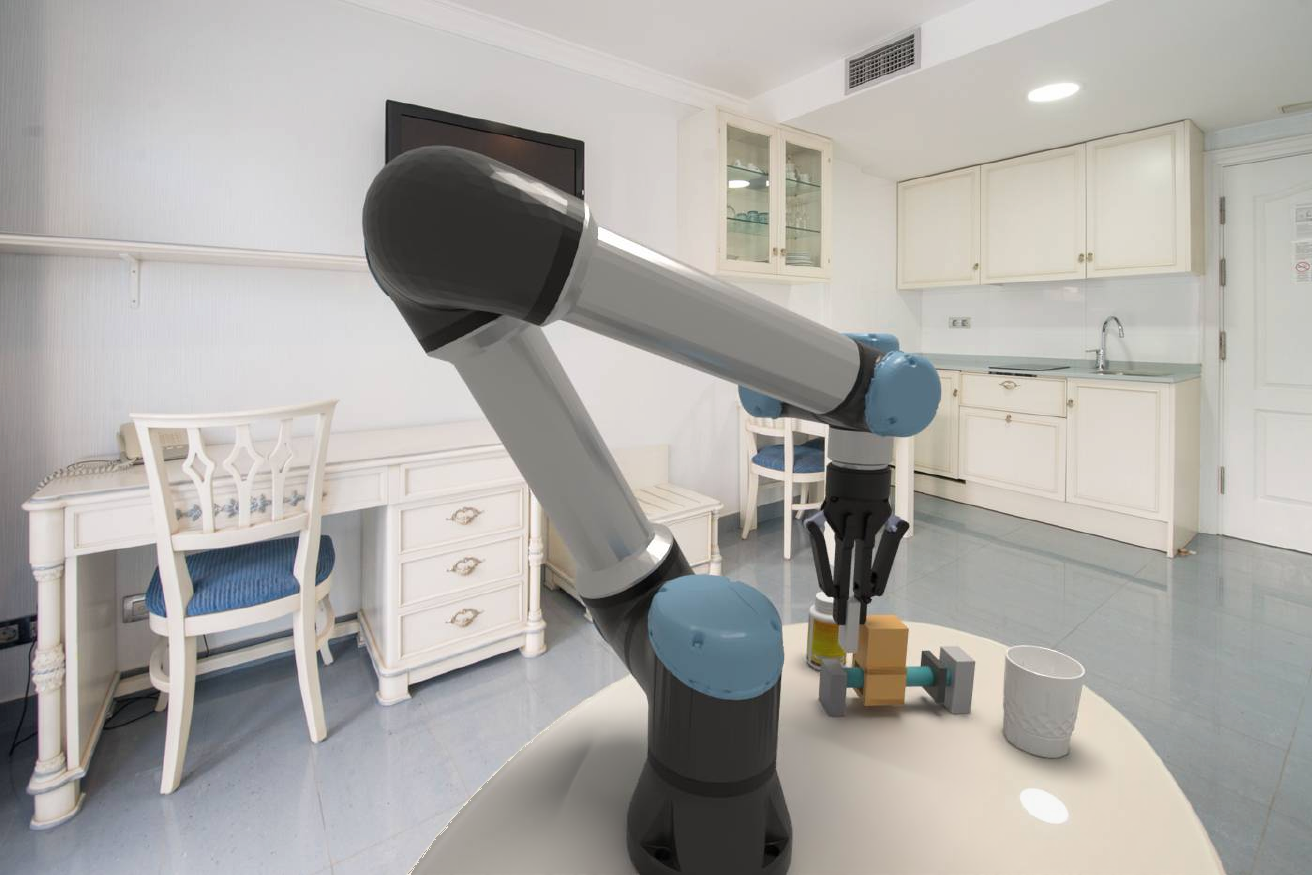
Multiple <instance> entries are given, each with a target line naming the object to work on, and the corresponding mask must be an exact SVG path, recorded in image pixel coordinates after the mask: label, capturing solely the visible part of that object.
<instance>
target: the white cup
mask: <svg viewBox="0 0 1312 875" xmlns="http://www.w3.org/2000/svg"><path fill="white" fill-rule="evenodd" d="M1004 654H1005V656H1004V671H1003V672H1004V675H1003V694H1002V695H1003V699H1002V700H1003V701H1002V707H1003V721H1002V733H1003V735H1004V737H1005V738H1006V740H1007V741H1008V742H1010V744H1012V745H1014V746H1015V747H1016V748H1018V749H1020V750H1022V751H1024V752H1026V753H1028V754H1031V755H1035V756H1037V757H1043V758H1048V759H1049V758H1052V759H1053V758H1056V759H1057V758H1058V759H1059V758H1062V757H1064V756H1066V755H1068V753H1069V749H1070V744H1071V743H1070V742H1071V739H1072V738H1071V737H1072V736H1073V735H1072V734H1073V732H1074V730H1075V724H1076V721H1077V718H1078V712H1079V706H1080V702H1081V701H1080V700H1081V696H1082V690H1083V685H1084V680H1085V679H1084V678H1085V676H1086V669H1085V667H1084V666H1083V665H1082V664H1081V663H1080V662H1079V661H1078V660H1076V659H1074V658H1072V656H1069V655H1067V654H1065V653H1062V652H1060V651H1057V650H1054V649H1050V648H1046V647H1042V646H1038V645H1026V644H1023V645H1022V644H1021V645H1013V646H1011V647H1008V648H1007V649H1006V650H1005V653H1004Z"/></svg>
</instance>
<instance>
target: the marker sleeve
mask: <svg viewBox="0 0 1312 875" xmlns="http://www.w3.org/2000/svg"><path fill="white" fill-rule="evenodd" d="M909 631H910V628H909V627H908V626H907V625H906V624H905V623H904V622H903V621H901V619H899V618H898V617H897V615H895V614H867V616H866V622H865V624H864V625H859V634H858V650H857V653H852V655H851V656H852V657H851V667H861V668H862V669H863V671H864V686H863V688H852V689H853V691H854V693H855V694H856V695H857V697H858V698H859V700H860V701H861V702H862V704H863V706H866V707H867V706H904V705H905V697H906V688H907V687H906V676H907V668H906V667H907V655H908V654H907V653H908V646H909V645H908V644H909Z"/></svg>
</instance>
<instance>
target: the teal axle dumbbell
mask: <svg viewBox="0 0 1312 875" xmlns="http://www.w3.org/2000/svg"><path fill="white" fill-rule="evenodd" d="M939 647H940V648H939V656H938V657H939V658H938V657H937V656H936V655H935V654H934V653H932V652H931V651H930V650H921V658H920V666H919V665H918V666H915V665H914V666H906V668H907V676H906V688H907V687H908V688H909V687H910V688H911V687H913V688H914V687H916V688H917V687H921V688H922V689H923V690H924V691H925V692H926V693H927V694H928V696H930V698H932V700H933V701H934V702H935V703H936V704H942V705H943V706H944V707H945V708H946V709H947V710H948V712H949V713H951V715H956V714H957V715H958V714H960V715H962V714H963V715H966V714H971V710H972V701H973V700H972V699H973V690H974V678H975V671H976V670H975V669H976V661H975V660H974V659H973V658H972V657H971V656H970V655H969V654H968V653H967V652H965V650H963V649H962V648H961V647H960V646H959V645H955V646H954V645H952V646H949V645H947V646H945V645H944V646H943V645H942V646H939ZM819 672H820V673H819V686H818V701H819V702H820V704H821V706H822V707H823V708H824V710H825V712H826V713H827V715H828V718H829V717H846V715H845V714H846V703H847V702H846V701H847V689H853V688H863V686H864V671H863V669H862V668H861V667H852V666H851V667H844V668H842V666H841V665H840V663H839V662H838V661H837V659H821V669H820V670H819Z"/></svg>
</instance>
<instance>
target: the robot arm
mask: <svg viewBox="0 0 1312 875" xmlns="http://www.w3.org/2000/svg"><path fill="white" fill-rule="evenodd" d="M591 211H592V210H591V208H590V206H589V204H588V202H587V201H585V200H583V199H582V198H579V197H577V196H575V195H572V194H570V193H568V192H566V191H563V190H561V189H559V188H557V187H556V186H553V185H551V184H548V183H547V182H545V181H542V180H540V179H538V178H536V177H533V176H532V175H529V174H527V173H525V172H523V171H521V170H519V169H517V168H514V167H513V166H511V165H507V164H505V163H503V162H502V161H498V160H497V159H493V158H492V157H489V156H486V155H485V154H481V153H480V152H479V153H478V152H475V151H473V150H468V149H466V148H460V147H456V146H450V145H430V146H429V145H428V146H420V147H418V148H415V149H410V150H407V151H405V152H403V153H402V154H401V153H400V154H399V155H397V156H396V157H395V158H393V159H392V160H390V161H388V162H387V164H385V165H383V167H382V169H381V170H380V171H379V172H377V174H376V176H375V177H374V179H373V180H372V183H371V184H370V186H369V187H368V189H367V192H366V194H365V199H364V202H363V206H362V213H361V214H362V216H361V218H362V220H361V227H362V236H363V243H364V245H363V246H364V254H365V258H366V262H367V266H368V269H369V270H370V271H369V272H370V273H371V276H372V277H373V279H374V281H375V282H376V284H377V286H378V287H379V288H380V290H382V292H383V293H384V294H385V295H386V296H387V297H389V298H390V300H391V301H392V302H393V304H394V305H395V307H396V309H397V310H398V311H399V313H400V315H401V316H402V318H403V319H404V321H405V323H406V325H407V326H408V327H409V329H410V331H411V332H412V334H413V335H414V337H415V339H416V340H417V342H418V343H419V345H420V347H421V348H422V349H423V351H424V352H425V354H426V355H427V357H430V358H432V359H433V358H434V359H437V360H441V361H443V362H448V363H449V364H451V365H452V366H453V367H454V368H455V370H456V371H457V372H458V374H459V376H460V377H461V379H462V381H463V383H464V384H465V386H466V387H467V389H468V391H469V392H470V393H471V395H472V398H474V400H475V402H476V403H477V405H478V407H479V409H480V410H481V411H482V413H483V415H484V416H485V418H486V419H487V421H488V422H489V424H490V427H491V428H492V430H494V432H495V433H496V435H497V437H498V438H499V441H501V442H500V443H501V444H502V445H503V447H504V448H505V450H506V452H507V453H508V455H509V457H510V459H511V460H512V461H513V463H514V465H515V466H516V468H517V469H518V471H519V473H520V474H521V476H522V477H523V480H524V481H525V482H526V484H527V485H528V487H529V489H530V490H531V492H532V493H533V496H534V497H535V498H536V500H537V502H538V504H539V505H540V506H541V508H542V510H543V511H544V514H545V515H546V516H547V518H548V519H549V521H550V523H551V524H552V526H553V527H554V529H555V531H556V532H557V534H558V536H559V537H560V539H561V541H562V542H563V543H564V545H565V547H566V549H567V550H568V551H569V553H570V555H571V557H572V558H573V560H574V561H575V563H576V564H577V567H576V569H575V573H574V576H573V587H574V590H575V591H576V593H577V595H578V596H579V598H580V599H581V601H582V603H583V604H584V606H585V607H586V609H587V611H588V612H589V614H590V616H591V619H592V620H591V621H592V624H593V625H594V627H595V629H596V631H597V632H598V634H599V635H600V637H601V638H602V639H603V641H605V642H606V643H607V644H608V645H609V646H610V647H611V648H612V650H613V651H614V652H615V654H616V656H617V657H618V658H619V659H620V660H621V662H622V663H623V665H624V666H625V667H626V668H627V670H628V671H629V673H630V674H631V676H632V677H633V679H634V680H635V681H636V683H637V684H638V686H640V688H641V689H642V691H643V692H644V694H645V697H646V700H647V707H648V708H647V709H648V710H647V751H646V753H647V754H646V758H645V762H644V765H643V768H642V770H641V773H640V775H639V778H638V781H637V784H636V786H635V788H634V791H633V794H632V796H631V799H630V802H629V805H628V808H627V809H628V810H627V813H626V814H627V815H626V847H627V852H628V855H629V858H630V860H631V862H632V864H633V866H634V867H635V870H636V871H637V872H638V873H639V875H787V873H788V870H789V869H790V865H791V861H792V852H793V851H792V850H793V823H792V819H791V816H790V811H789V808H788V805H787V802H786V797H785V794H784V791H783V788H782V783H781V780H780V777H779V774H778V771H777V755H778V741H779V722H780V705H781V704H780V703H781V693H782V691H781V690H782V676H783V675H782V674H783V667H784V664H785V646H784V637H783V634H784V633H783V624H782V618H781V616H780V613H779V612H778V610H777V608H776V607H775V605H774V604H773V602H772V601H771V600H770V599H769V598H768V596H766V595H765V594H764V593H762V592H761V591H760V590H758V589H757V588H755V587H753V586H751V585H749V584H748V583H745V582H742V581H740V580H737V581H731V580H730V579H729V577H727V576H721V575H715V574H705V573H704V574H703V573H702V574H699V573H698V574H696V572H694V570H693V568H692V567H691V565H690V563H689V561H688V559H687V557H686V556H685V554H684V552H683V551H682V549H681V547H680V545H679V544H678V542H677V539H676V538H675V537H674V534H673V532H672V531H671V529H670V528H669V527H668V526H667V525H666V524H665V525H664V524H662V523H658V522H653V521H649V520H648V517H647V515H646V513H645V512H644V510H643V508H642V507H641V505H640V503H639V501H638V500H637V497H636V496H635V494H634V491H633V490H632V488H631V487H630V485H629V483H628V482H627V479H626V478H625V476H624V474H623V473H622V471H621V470H620V467H619V466H618V463H617V461H616V460H615V458H614V457H613V454H612V453H611V451H610V449H609V448H608V445H607V444H606V442H605V441H604V438H603V437H602V435H601V433H600V431H599V430H598V428H597V426H596V424H595V422H594V420H593V419H592V417H591V415H590V413H589V411H587V408H586V407H585V405H584V403H583V401H582V399H581V397H580V396H579V394H578V392H577V390H576V389H575V386H574V385H573V383H572V382H571V380H570V378H569V376H568V374H567V373H566V371H565V369H564V367H563V365H562V363H561V361H560V359H559V358H558V356H557V354H556V353H555V351H554V348H553V347H552V346H551V344H550V342H549V339H547V336H546V334H545V333H544V331H543V329H542V328H543V327H546V326H548V325H550V324H553V323H555V322H558V321H563V322H566V323H568V324H571V325H574V326H577V327H578V328H582V329H585V330H587V331H590V332H592V333H595V334H598V335H601V336H604V337H607V338H609V339H612V340H614V341H617V342H619V343H622V344H626V345H629V346H630V347H634V348H636V349H640V350H641V351H644V352H647V353H650V354H653V355H655V356H658V357H661V358H664V359H666V360H669V361H671V362H674V363H676V364H680V365H682V366H686V367H687V368H691V369H694V370H697V371H699V372H702V373H704V374H707V375H710V376H713V377H715V378H718V379H720V380H724V381H726V382H729V383H732V384H734V385H737V392H738V396H739V399H740V400H739V401H740V402H741V406H742V408H743V410H745V411H746V413H747V414H748V415H750V416H752V417H753V418H763V419H772V420H778V419H779V418H784V419H785V418H789V419H790V418H791V419H798V420H803V421H809V422H812V423H818V424H824V425H828V435H827V436H828V437H827V458H828V459H829V462H828V464H827V465H826V471H825V487H824V488H825V489H824V495H825V496H824V500H823V502H822V503H821V505H820V511H818V512H816V514H813V516H810V517H809V516H805V517H802V520H801V524H802V526H803V528H804V529H805V530H806V533H807V535H808V537H809V541H810V547H811V552H812V557H813V561H814V562H813V563H814V566H815V568H814V569H815V573H816V578H817V582H818V587H819V589H820V591H821V592H824V593H825V595H826V596H827V597H833V598H834V601H833V619H834V621H835V622H836V624H837V625H839V633H838V644H839V645H840V646H841V648H842V649H843V650H844V652H845V653H847V654H853V653H857V650H858V634H859V625H864V624H865V622H866V616H867V615H868V605H869V604H871V602H872V601H873V599H872V598H873V597H875V596H876V597H882V596H883V595H884V593H885V590H886V587H887V584H888V582H889V579H890V578H889V577H890V575H891V571H892V568H893V566H894V562H895V558H896V556H897V553H898V549H899V545H900V543H901V540H902V538H903V537H904V536H905V535H906V533H907V532H908V531H909V529H910V527H911V525H910V523H909V522H908V521H906V520H905V519H903V518H901V517H900V516H898V515H895V514H894V513H893V508H892V505H891V504H890V496H891V488H892V486H891V485H892V475H893V470H892V469H891V467H890V466H889V465H890V464H892V463H893V460H894V457H893V456H894V448H895V447H894V446H895V445H894V444H895V437H896V438H909V437H913V436H916V435H918V434H920V433H921V432H923V431H925V430H926V429H927V427H929V426H930V424H931V423H932V422H933V420H934V419H935V417H936V416H937V411H938V409H939V404H940V403H941V400H942V382H941V379H940V375H939V372H938V370H937V369H936V367H935V366H934V365H933V363H932V362H931V361H930V360H928V359H927V358H926V357H924V356H922V355H920V354H915V353H908V352H904V351H902V350H900V341H899V339H898V337H896V336H895V335H894V334H891V333H865V332H864V333H862V332H861V333H860V332H858V333H857V332H852V333H851V332H850V333H849V332H848V333H840V332H839V331H836V330H834V329H832V328H829V327H827V326H825V325H823V324H821V323H818V322H817V321H814V320H811V319H809V318H808V317H805V316H803V315H801V314H798V313H796V312H794V311H792V310H789V309H787V308H786V307H784V306H781V305H778V304H777V303H774V302H772V301H770V300H767V299H765V298H763V297H762V296H759V295H756V294H755V293H753V292H750V291H748V290H746V289H743V288H741V287H740V286H737V285H735V284H732V283H731V282H728V281H726V280H724V279H721V278H720V277H718V276H715V275H713V274H710V273H708V272H706V271H704V270H701V269H699V268H698V267H696V266H693V265H690V264H689V263H686V262H684V261H682V260H680V259H677V258H675V257H673V256H671V255H669V254H666V253H664V252H662V251H660V250H658V249H655V248H654V247H651V246H649V245H646V244H644V243H642V242H640V241H638V240H635V239H633V238H631V237H628V236H627V235H624V234H622V233H620V232H619V231H616V230H614V229H611V228H609V227H608V226H604V225H603V224H601V223H598V222H597V221H596V220H595V218H594V216H593V214H592V212H591ZM825 523H827V525H829V527H830V528H831V530H832V532H833V534H834V536H833V538H834V543H835V546H834V558H833V561H834V562H833V575H832V569H831V564H830V557H829V552H828V548H827V542H826V538H825V536H824V534H823V533H824V532H825V530H826V525H825ZM883 527H884V529H883V531H882V535H881V537H880V541H879V544H878V547H877V550H876V553H875V556H874V559H873V553H874V552H873V550H874V548H875V547H876V546H875V544H876V535H877V534H878V533H879V532H880V531H881V529H882V528H883ZM854 548H855V549H854ZM853 549H854V560H853V561H854V564H853V575H852V576H853V579H852V593H851V594H850V588H851V587H850V586H851V572H852V556H853Z"/></svg>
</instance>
